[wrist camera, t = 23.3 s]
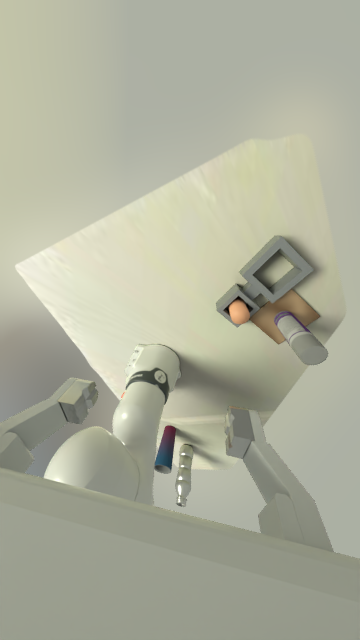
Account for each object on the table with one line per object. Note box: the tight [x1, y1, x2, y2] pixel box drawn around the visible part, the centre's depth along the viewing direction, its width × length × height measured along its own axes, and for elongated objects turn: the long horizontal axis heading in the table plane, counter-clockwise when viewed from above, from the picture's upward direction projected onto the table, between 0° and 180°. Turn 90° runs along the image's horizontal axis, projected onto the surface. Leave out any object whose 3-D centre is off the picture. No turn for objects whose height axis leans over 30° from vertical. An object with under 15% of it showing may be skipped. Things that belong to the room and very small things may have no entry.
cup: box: [154, 426, 176, 474], centre depth 71 cm, size 7×7×15 cm
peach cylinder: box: [228, 296, 250, 324], centre depth 41 cm, size 4×4×8 cm
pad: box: [249, 289, 320, 344], centre depth 44 cm, size 12×12×1 cm
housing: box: [216, 236, 314, 327], centre depth 40 cm, size 20×10×5 cm, turn 142°
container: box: [274, 311, 328, 365], centre depth 38 cm, size 5×5×15 cm
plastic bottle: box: [175, 445, 193, 507], centre depth 74 cm, size 6×7×20 cm
